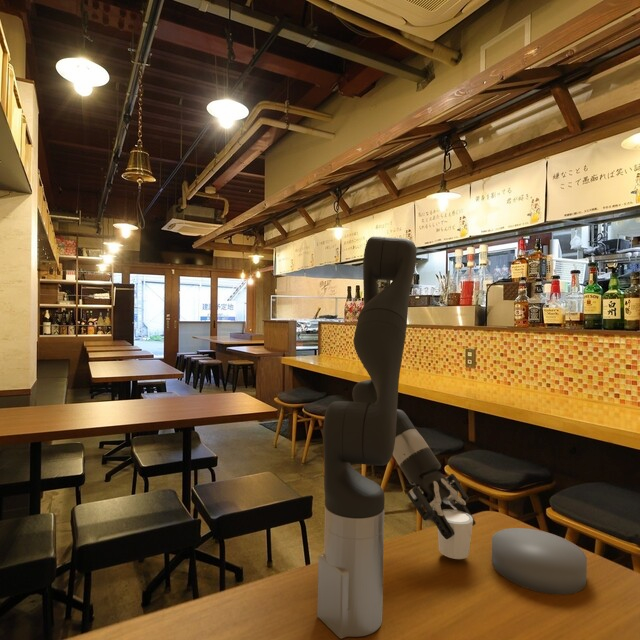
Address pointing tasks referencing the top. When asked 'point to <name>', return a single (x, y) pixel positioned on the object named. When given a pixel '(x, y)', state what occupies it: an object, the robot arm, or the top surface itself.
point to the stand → (539, 561)
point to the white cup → (456, 534)
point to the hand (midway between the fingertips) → (461, 531)
